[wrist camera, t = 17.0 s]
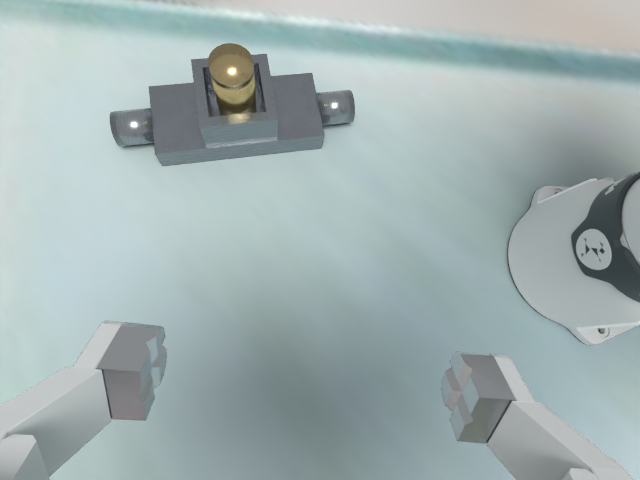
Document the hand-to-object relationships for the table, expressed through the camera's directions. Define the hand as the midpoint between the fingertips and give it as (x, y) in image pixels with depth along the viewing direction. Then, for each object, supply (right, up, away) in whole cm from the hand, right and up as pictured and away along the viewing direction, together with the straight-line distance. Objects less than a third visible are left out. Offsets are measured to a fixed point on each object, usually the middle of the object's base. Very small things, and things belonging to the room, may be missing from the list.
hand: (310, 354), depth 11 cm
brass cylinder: (-9, +17, +33) cm, 38 cm away
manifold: (-9, +17, +36) cm, 40 cm away
